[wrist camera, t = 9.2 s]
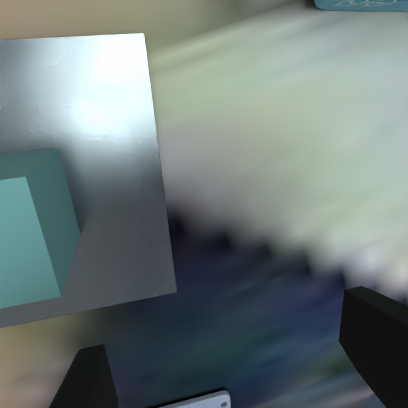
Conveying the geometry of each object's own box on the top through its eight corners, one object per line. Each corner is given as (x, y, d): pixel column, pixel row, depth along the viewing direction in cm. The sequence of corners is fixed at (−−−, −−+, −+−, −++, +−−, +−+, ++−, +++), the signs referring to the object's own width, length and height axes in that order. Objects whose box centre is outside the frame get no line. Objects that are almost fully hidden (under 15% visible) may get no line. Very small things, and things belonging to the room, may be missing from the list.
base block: (170, 266, 19) (177, 292, 16) (-56, 309, 16) (-86, 345, 14) (141, 41, 14) (143, 33, 12) (-173, 58, 12) (-244, 52, 10)
